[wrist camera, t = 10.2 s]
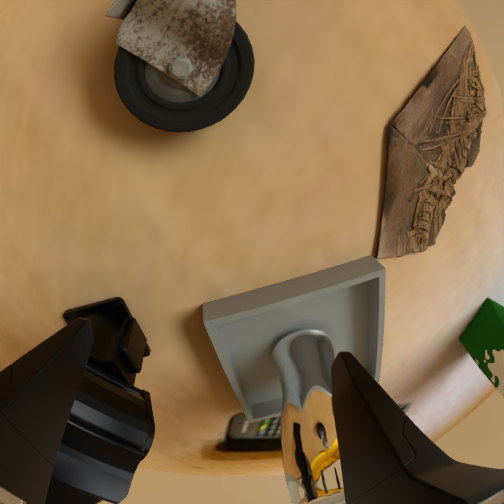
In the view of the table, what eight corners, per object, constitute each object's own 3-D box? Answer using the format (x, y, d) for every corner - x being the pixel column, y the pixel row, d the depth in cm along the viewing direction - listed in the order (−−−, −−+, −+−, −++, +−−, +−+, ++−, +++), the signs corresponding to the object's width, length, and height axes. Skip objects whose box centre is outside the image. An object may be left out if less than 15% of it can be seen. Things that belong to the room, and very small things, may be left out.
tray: (246, 405, 31) (249, 423, 29) (202, 303, 25) (203, 321, 23) (370, 367, 32) (379, 381, 30) (371, 255, 25) (385, 268, 23)
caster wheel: (197, 135, 22) (93, 69, 17) (297, 27, 17) (190, -49, 12) (193, 170, 17) (52, 84, 12) (331, 24, 12) (182, -81, 7)
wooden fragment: (413, 275, 27) (418, 280, 26) (329, 236, 24) (334, 240, 23) (499, 71, 19) (506, 71, 18) (435, 0, 16) (442, -2, 15)
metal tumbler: (298, 314, 25) (345, 487, 12) (352, 338, 27) (405, 479, 14) (251, 361, 28) (269, 514, 15) (306, 378, 30) (336, 509, 17)
